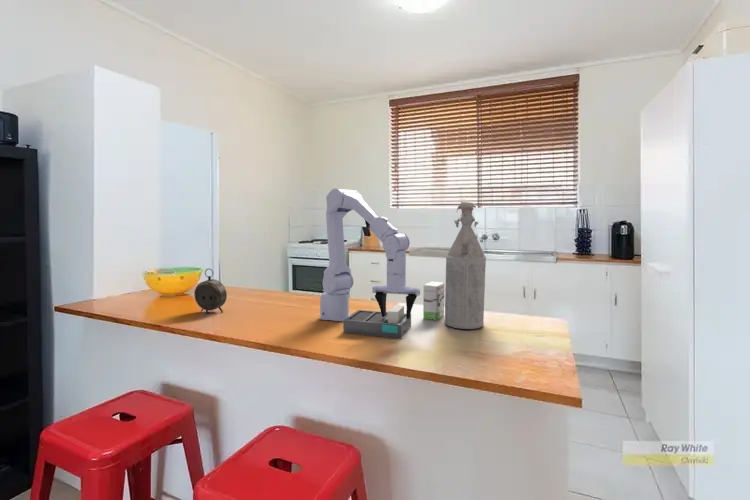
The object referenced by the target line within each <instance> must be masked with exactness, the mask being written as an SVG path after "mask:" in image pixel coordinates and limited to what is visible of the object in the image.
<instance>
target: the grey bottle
mask: <svg viewBox="0 0 750 500" xmlns="http://www.w3.org/2000/svg"><path fill="white" fill-rule="evenodd" d="M474 209H477V206H476V205H474V202H470V201H469V202H468V201H460V205H458V206H457V208H456V212H458V211H459V210H461V215H460V217H458V218H457V220H454V224H455V226H456V228H459V227H460V226H459V225H460V223H459V222H461V228H460V229H459V232H458V233H457V234H456V236H455V240H454V242H453V243H452V245H451V247H450V249H449V251H448V253H447V255H446V256H445V289H444V323H445V324H446V325H447V326H448V327H450V328H455V329H462V330H475V329H479V328H483V326H484V318H485V317H484V316H485V315H484V313H485V294H486V293H485V288H486V263H487V256H486V255H485V253H484V251H483V249H482V246H481V244H480V242H479V240H478V238H477V236H476V234H475V232H474V229H473V227H472V225H473V223H474V228H476V227H477V225H478V224H479V221H476V219H475V217H474V216H473V211H474Z"/></svg>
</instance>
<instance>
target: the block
mask: <svg viewBox="0 0 750 500" xmlns="http://www.w3.org/2000/svg"><path fill="white" fill-rule="evenodd" d="M387 312H388V323H393V324H399V323H400V322H401V321H402V320H403V319H404V314H405V305H400V304H399V305H398V304H397V305H396V304H395V305H393V306H392V307H391V308H390V309H388V310H387Z"/></svg>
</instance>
